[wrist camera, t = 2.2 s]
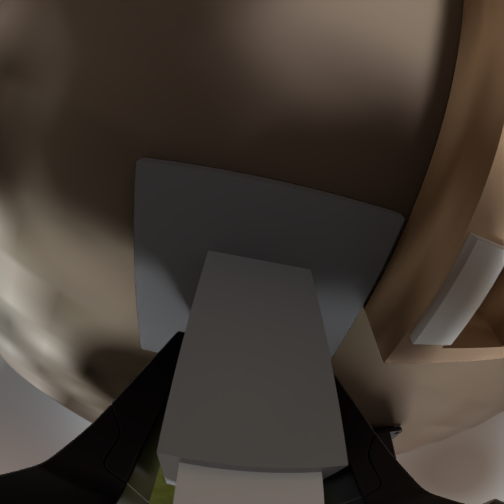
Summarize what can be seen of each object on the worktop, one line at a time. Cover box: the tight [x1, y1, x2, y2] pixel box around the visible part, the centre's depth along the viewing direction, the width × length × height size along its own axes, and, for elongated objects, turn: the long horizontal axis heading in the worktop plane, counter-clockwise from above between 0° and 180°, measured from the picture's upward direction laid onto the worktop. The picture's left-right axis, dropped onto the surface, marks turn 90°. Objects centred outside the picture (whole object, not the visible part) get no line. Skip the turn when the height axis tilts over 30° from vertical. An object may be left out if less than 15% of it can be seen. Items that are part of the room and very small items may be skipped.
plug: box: [157, 250, 348, 504], centre depth 7 cm, size 4×4×8 cm
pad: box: [134, 157, 405, 358], centre depth 11 cm, size 9×9×1 cm
